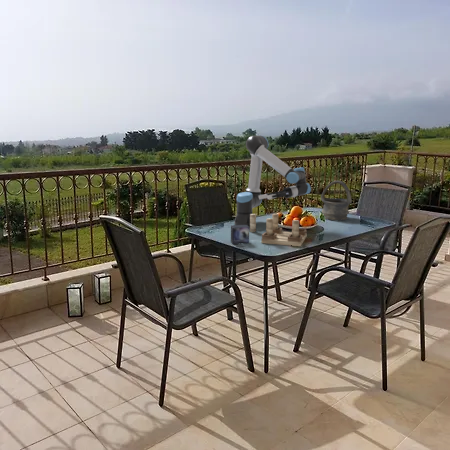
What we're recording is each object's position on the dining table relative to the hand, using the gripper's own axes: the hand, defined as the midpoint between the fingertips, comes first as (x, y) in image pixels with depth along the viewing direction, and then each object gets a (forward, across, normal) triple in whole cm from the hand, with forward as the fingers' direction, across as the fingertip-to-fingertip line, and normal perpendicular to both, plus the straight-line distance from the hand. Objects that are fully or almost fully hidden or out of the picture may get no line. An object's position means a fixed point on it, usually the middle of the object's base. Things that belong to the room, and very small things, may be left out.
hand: (263, 197), depth 276 cm
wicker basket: (-68, +19, -29) cm, 77 cm away
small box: (+31, -22, -23) cm, 44 cm away
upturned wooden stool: (+2, -26, -27) cm, 38 cm away
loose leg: (+11, +1, -22) cm, 25 cm away
